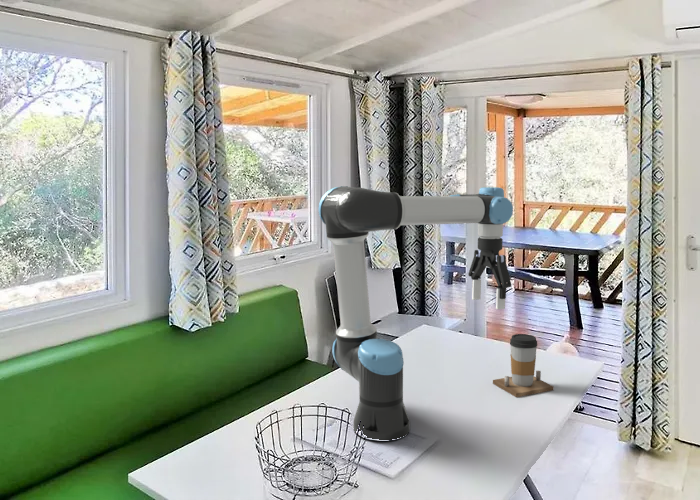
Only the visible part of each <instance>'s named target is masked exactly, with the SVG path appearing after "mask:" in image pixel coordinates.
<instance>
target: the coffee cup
mask: <svg viewBox="0 0 700 500" xmlns="http://www.w3.org/2000/svg"><path fill="white" fill-rule="evenodd" d="M509 345H510V369H511V370H510V373H511V377H512V381H513V383H514V384H515V385H517V386H522V387H527V386H531V385H532V383H533V378H534V377H535V372H536V371H535V370H536V369H535V368H536V360H537V347H538V340H537V337H536V336H534V335H532V334H529V333H528V334H527V333H517V334H512V336H511V338H510V340H509Z"/></svg>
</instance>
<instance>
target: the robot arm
mask: <svg viewBox="0 0 700 500" xmlns="http://www.w3.org/2000/svg"><path fill="white" fill-rule="evenodd" d="M513 211H514V206H513V204H512V201H511V200H510V199H508V198H507V197H505V190H504V188H502V187H493V186H491V187H490V186H489V187H487V186H486V187H485V186H483V187H479V190H478V193H477V194H475V193H471V194H470V193H469V194H468V193H467V194H466V193H465V194H463V193H461V194H460V193H456V194H450V195H448V196H447V195H443V196H442V195H441V196H440V195H437V196H436V195H435V196H434V195H429V196H428V195H425V196H424V195H423V196H421V195H415V196H414V195H413V196H410V195H409V196H407V195H406V196H405V195H403V196H402V195H399V193H397V192H391V191H381V190H374V189H368V188H365V187H353V186H344V185H343V186H335V187H333V188H330V189H329V190H328V191H326V192H325V193H324V194H323V195H322V196H321V198H320V201H319V203H318V215H319V218H320V219H321V221H322V222H323V224H324V225H325V231H326V239H327V240H328V241H330V242H331V243H332V245H333V256H334V266H335V269H334V270H335V279H336V289H337V300H338V311H339V319H340V321H339V322H340V325H339V327H338V328H337V329H336V331H335V334H336V335H335V336H336V338H335V340H334V341H333V343H332V350H331V351H332V356H333V359H334V361H335V363H336V364H337V366H338V367H339V368H340V369H341V370H342V371H343V372H345V373H346V374H347V375H349V376H351V377H352V378H353V379H355V380H356V381H357V382H358V384H359V386H358V388H359V393H358V394H359V403H358V406H357V407H356V411H355V414H354V417H353V422H352V423H353V424H352V426H353V428H354V429H353V431H355V432H356V431H357V429H358V425H359V423H360V420H361V423H360V429H359V431H361V430H362V429H363V434H364V435H366V436H367V438H372V439H379V440H392V439H397V438H400V437H403V436H405V435H406V434H407V435H408V434H409V433H410V430H411V428H410V427H411V426H410V425H411V422H410V417H409V415H408V413H407V410H406V406H405V404H404V364H405V363H404V357H403V350H402V348H401V347H400V345H399V344H398V343H396V342H394V341H392V340H389V339H388V340H386V339H385V338H378V331H377V330H378V329H377V327H376V326H375V325H374V324H373V323H371V321H372V320H371V310H370V300H369V288H368V287H369V286H368V273H367V264H366V252H365V251H366V249H365V240H366V239H367V237H368V236H369V234H370V233H369V232H376V231H377V232H378V231H387V230H397V229H398V228H400V227H401V226H416V225H417V226H419V225H420V226H421V225H424V226H425V225H427V226H428V225H455V224H456V225H458V224H477V236H478V238H477V249H475V250H474V253H473V259H472V260H471V261H472V262H471V265H470V268H469V271H468V277H470V278H471V280H472V281H471V282H472V283H471V284H472V285H471V288H472V289H471V292H472V293H471V300H473V301H476V300H481V294H482V277H481V276H482V275H483V273H484V271H485V269H486V268H489V270H491V272H492V274H493V277H494V279H495V282H496V285H497V287H496V292H495V293H496V296H495V298H496V299H495V301H496V302H495V310H505V309H506V298H507V289H508V288H511V287H512V283H511V279H510V278H511V277H510V275H509V270H508V266H507V256H506V255H505V254H500V251H502V250H503V238H502V237H503V234H504V233H503V232H504V230H503V229H504V224H506V223H507V222H509V221H510V220H511V218H512V217H513ZM363 425H364V428H363ZM355 432H354V433H355ZM408 432H409V433H408ZM407 435H406V436H407ZM406 436H405V437H406ZM403 438H404V437H403Z"/></svg>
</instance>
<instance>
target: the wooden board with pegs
mask: <svg viewBox="0 0 700 500" xmlns="http://www.w3.org/2000/svg"><path fill="white" fill-rule="evenodd" d="M535 372H536V373H535V376H534V378H533V383H532V385H531V386H527V387H522V386H517V385H515V384H514V383H513V381H512V376H509V375H505V376H504V377H502V378H496V379H492V384H493V385H495V386H496V387H498V388H499V389H501V390H503V391H504V392H506V393H508V394H509V395H512V396H513V397H515V398H520V397H524V396H526V397H527V396H530V395H535V394H536V395H537V394H541V393H545V392H546V393H547V392H550V391H554V388H555V387H554V385H551V384H549V383H548V382H546V381H544V380H542V379H541V377H542V376H541V375H542V373H541V370H536V371H535Z"/></svg>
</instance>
